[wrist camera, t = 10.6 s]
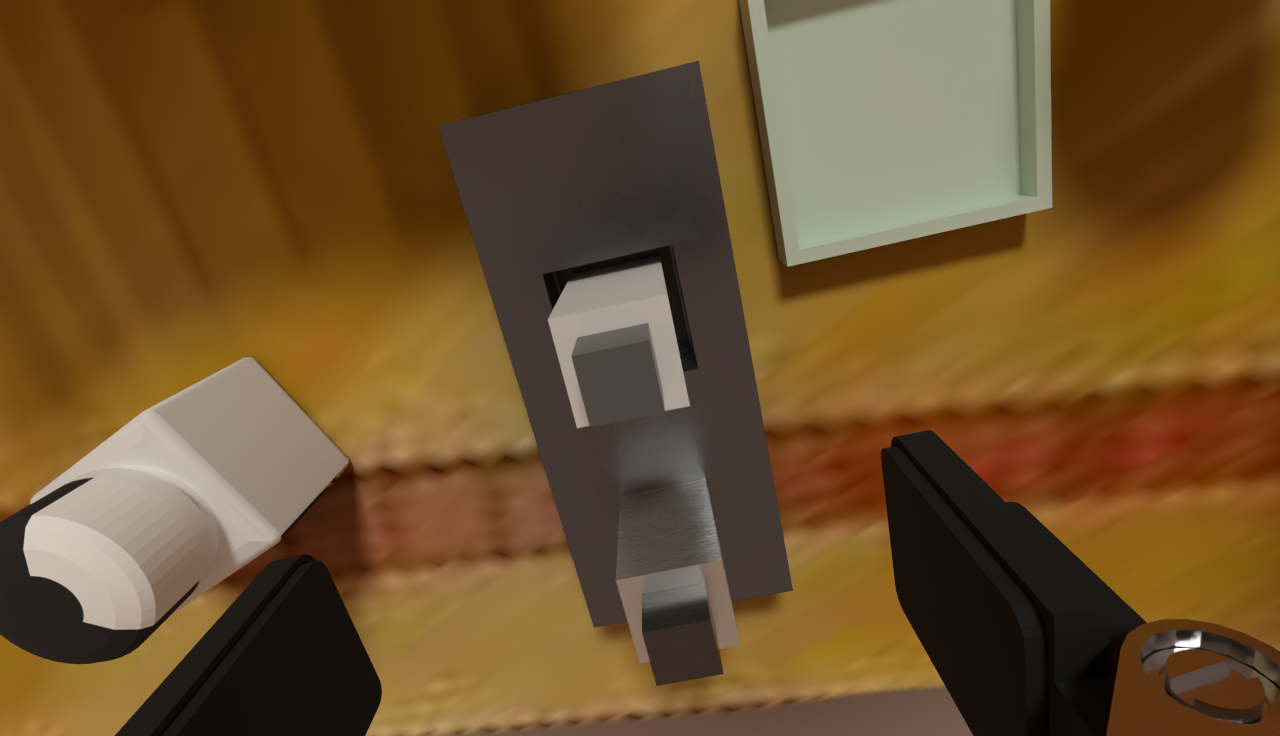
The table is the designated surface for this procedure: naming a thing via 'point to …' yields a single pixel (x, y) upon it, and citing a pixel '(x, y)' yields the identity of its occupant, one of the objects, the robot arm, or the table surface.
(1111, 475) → the table surface
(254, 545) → the medicine bottle
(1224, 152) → the table surface
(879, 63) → the tray
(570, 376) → the plug
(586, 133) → the grey piece
